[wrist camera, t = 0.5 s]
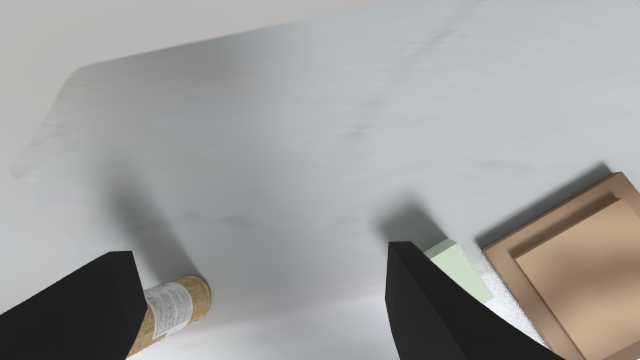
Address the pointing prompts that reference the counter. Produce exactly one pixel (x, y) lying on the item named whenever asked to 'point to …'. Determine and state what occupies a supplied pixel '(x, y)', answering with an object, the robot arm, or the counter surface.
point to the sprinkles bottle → (171, 309)
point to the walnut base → (580, 272)
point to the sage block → (459, 268)
